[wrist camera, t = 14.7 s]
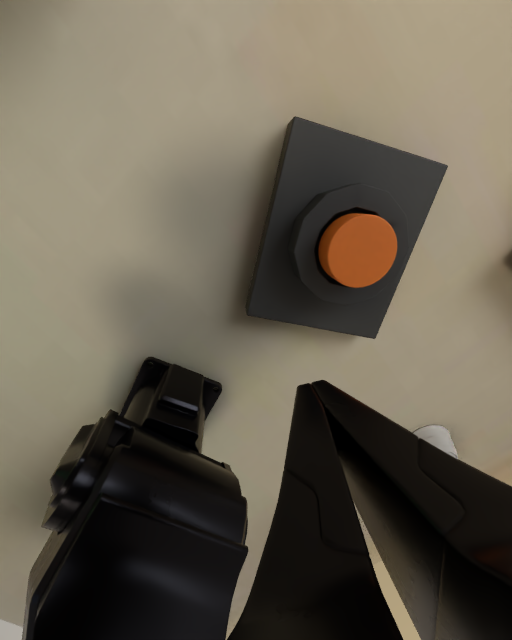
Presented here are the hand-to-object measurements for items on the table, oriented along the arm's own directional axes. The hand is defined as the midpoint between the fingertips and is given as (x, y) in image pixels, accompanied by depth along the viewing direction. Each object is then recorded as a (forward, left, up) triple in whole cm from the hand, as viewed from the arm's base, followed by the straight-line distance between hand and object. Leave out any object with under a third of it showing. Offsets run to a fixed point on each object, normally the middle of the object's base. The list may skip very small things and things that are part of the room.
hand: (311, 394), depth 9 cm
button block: (+5, -3, -13) cm, 14 cm away
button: (+5, -3, -10) cm, 11 cm away
